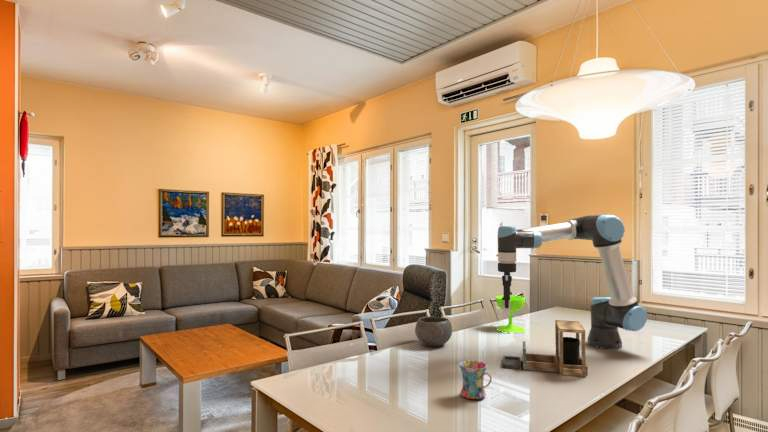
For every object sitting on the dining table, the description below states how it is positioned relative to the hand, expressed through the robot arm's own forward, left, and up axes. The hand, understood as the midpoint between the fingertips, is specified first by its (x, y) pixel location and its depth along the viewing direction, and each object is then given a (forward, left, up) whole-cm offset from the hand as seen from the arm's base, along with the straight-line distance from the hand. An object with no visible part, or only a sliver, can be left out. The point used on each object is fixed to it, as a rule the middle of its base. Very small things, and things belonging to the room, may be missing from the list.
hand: (507, 312), depth 181 cm
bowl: (+35, -19, -21) cm, 45 cm away
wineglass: (-1, -61, -21) cm, 65 cm away
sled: (-18, +1, -21) cm, 28 cm away
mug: (+10, +41, -21) cm, 47 cm away
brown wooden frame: (-24, +1, -21) cm, 32 cm away
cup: (-24, +1, -21) cm, 32 cm away
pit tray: (-2, +1, -21) cm, 21 cm away
